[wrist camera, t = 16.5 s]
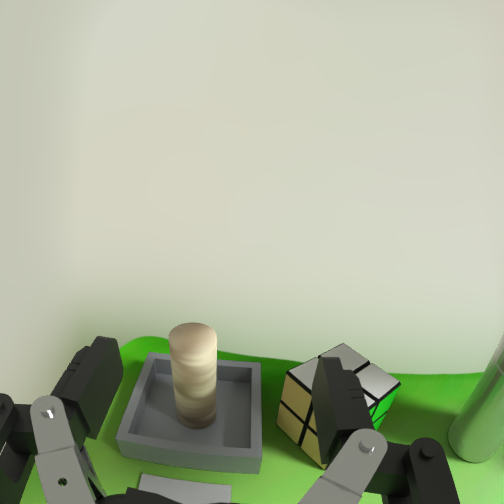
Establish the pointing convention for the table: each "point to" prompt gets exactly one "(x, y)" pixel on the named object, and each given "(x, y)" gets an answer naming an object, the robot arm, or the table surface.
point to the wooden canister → (194, 373)
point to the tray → (195, 440)
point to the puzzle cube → (300, 400)
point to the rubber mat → (186, 490)
